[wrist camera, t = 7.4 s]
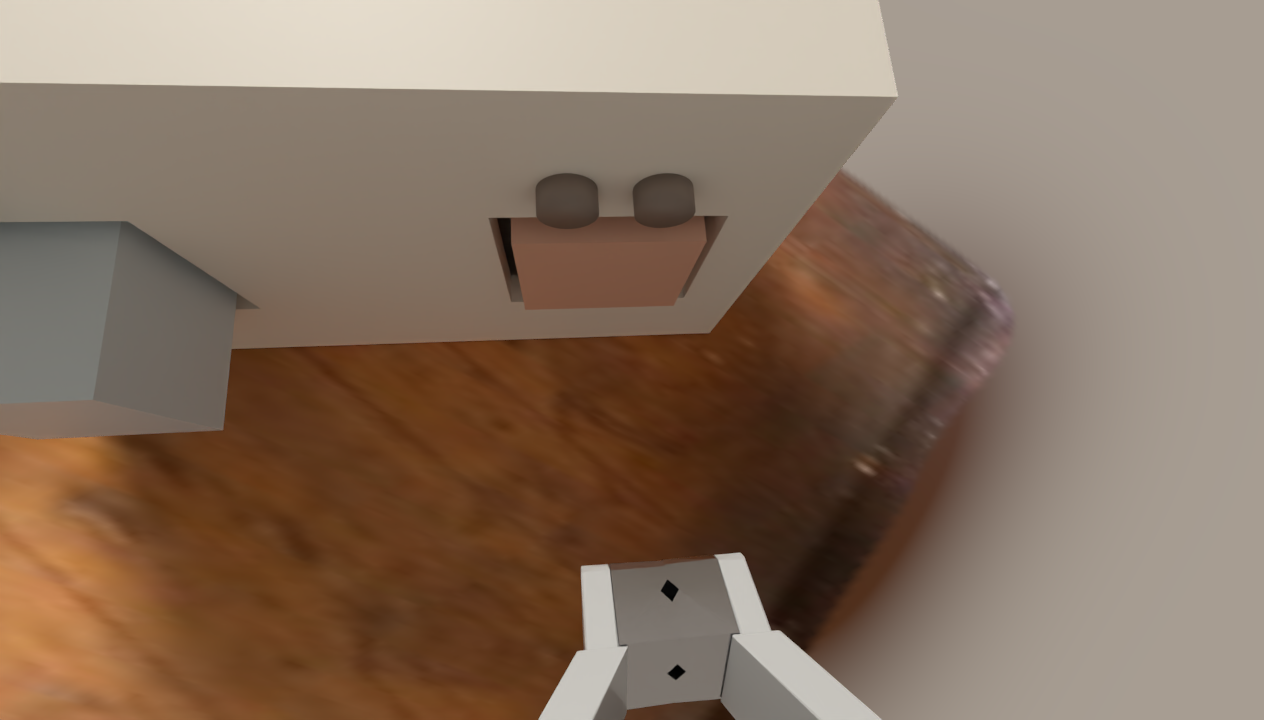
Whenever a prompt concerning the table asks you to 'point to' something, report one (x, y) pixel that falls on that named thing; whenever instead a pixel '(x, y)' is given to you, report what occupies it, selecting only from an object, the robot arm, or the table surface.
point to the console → (433, 144)
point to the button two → (604, 262)
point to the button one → (108, 334)
